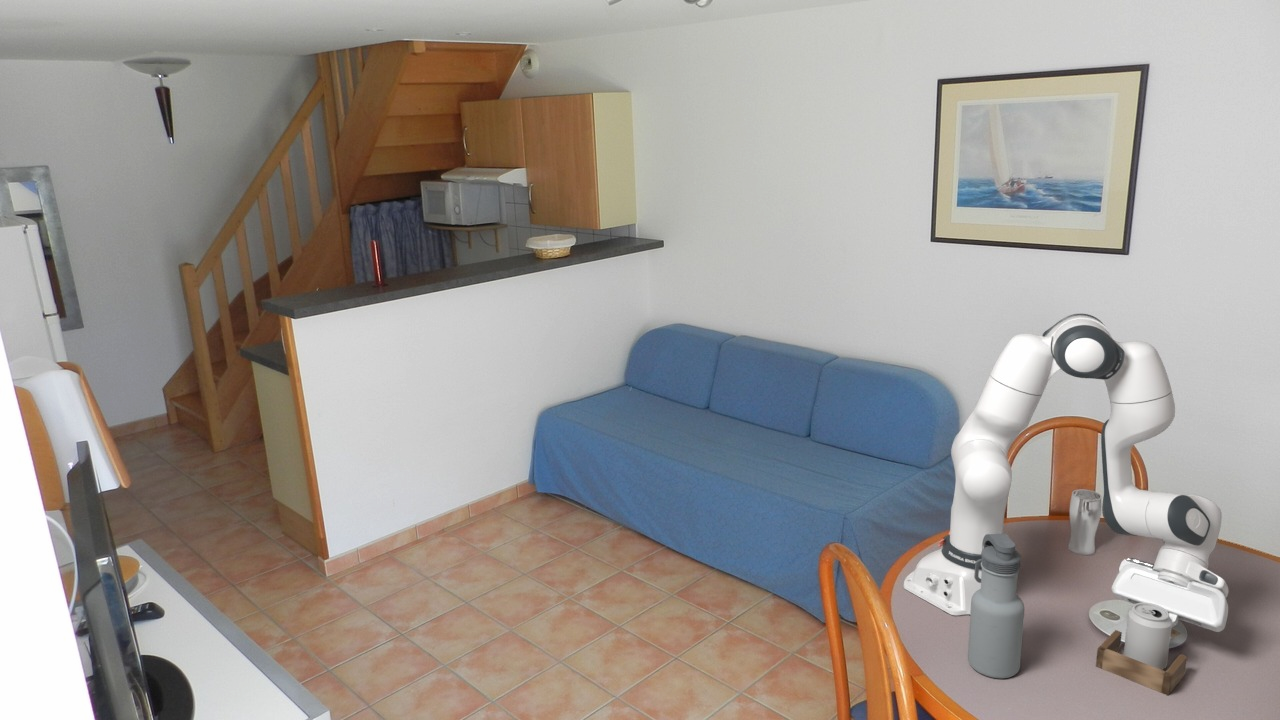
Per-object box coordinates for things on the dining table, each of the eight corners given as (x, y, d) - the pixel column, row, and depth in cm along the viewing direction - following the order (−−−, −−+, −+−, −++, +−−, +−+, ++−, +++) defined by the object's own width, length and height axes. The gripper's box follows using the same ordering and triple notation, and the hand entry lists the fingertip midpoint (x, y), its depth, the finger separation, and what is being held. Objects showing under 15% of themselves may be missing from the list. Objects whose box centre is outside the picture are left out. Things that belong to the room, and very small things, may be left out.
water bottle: (960, 650, 178) (967, 527, 170) (1007, 649, 177) (1016, 526, 170) (977, 681, 168) (985, 552, 160) (1027, 679, 167) (1038, 550, 160)
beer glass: (1098, 546, 216) (1103, 492, 212) (1095, 558, 211) (1101, 502, 207) (1067, 540, 220) (1072, 486, 216) (1064, 552, 214) (1069, 497, 210)
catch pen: (1095, 666, 170) (1097, 648, 169) (1113, 647, 176) (1115, 630, 175) (1168, 695, 161) (1170, 677, 160) (1184, 674, 167) (1187, 656, 166)
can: (1170, 677, 166) (1177, 623, 163) (1126, 670, 168) (1132, 617, 165) (1162, 655, 173) (1168, 602, 169) (1120, 649, 175) (1126, 597, 172)
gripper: (1120, 549, 181) (1098, 608, 177) (1234, 583, 166) (1211, 648, 162) (1126, 560, 185) (1105, 618, 181) (1237, 594, 170) (1216, 658, 166)
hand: (1156, 633), depth 172 cm, fingers closed, pressing on can
